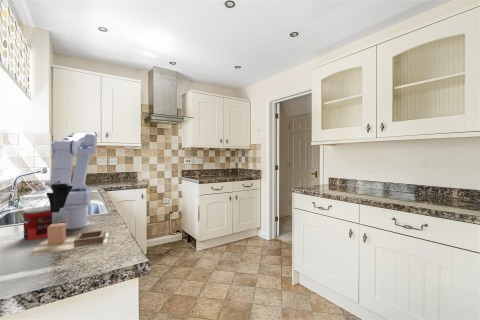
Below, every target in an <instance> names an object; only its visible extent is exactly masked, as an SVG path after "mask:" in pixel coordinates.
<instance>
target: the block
mask: <svg viewBox="0 0 480 320" xmlns="http://www.w3.org/2000/svg"><path fill="white" fill-rule="evenodd" d="M47 233H48V237H47V240H48V246H50V245H57V244H63V243H64V242H65V240H66V237H67V229H66V223H58V224H51V225H50V226H49V227H47Z"/></svg>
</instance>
